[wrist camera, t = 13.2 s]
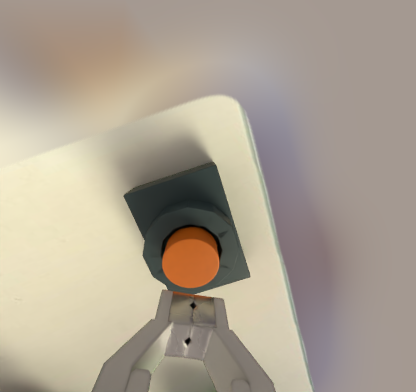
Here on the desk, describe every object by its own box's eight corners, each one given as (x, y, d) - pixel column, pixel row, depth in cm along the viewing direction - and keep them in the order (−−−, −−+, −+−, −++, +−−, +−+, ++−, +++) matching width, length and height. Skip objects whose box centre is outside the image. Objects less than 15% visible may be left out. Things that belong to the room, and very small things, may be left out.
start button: (158, 235, 13) (152, 249, 11) (208, 219, 13) (209, 231, 11) (176, 276, 14) (174, 295, 12) (222, 262, 14) (226, 278, 12)
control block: (132, 188, 16) (112, 203, 12) (213, 161, 15) (218, 168, 12) (175, 282, 19) (169, 319, 15) (244, 261, 18) (257, 293, 14)
